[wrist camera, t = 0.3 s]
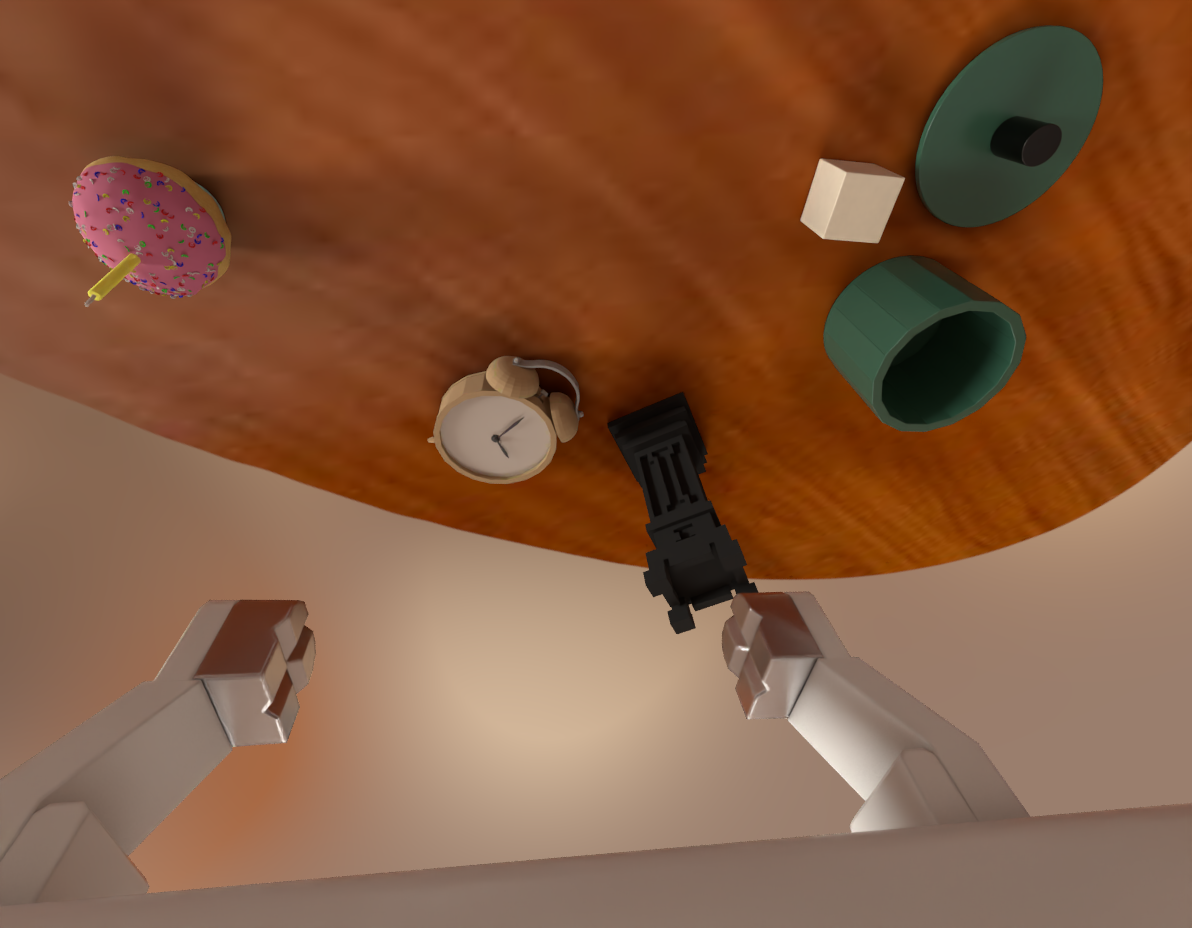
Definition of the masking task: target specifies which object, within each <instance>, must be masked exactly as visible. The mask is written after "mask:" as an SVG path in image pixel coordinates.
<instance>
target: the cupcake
mask: <svg viewBox="0 0 1192 928" xmlns="http://www.w3.org/2000/svg"><path fill="white" fill-rule="evenodd" d="M78 178H79V179H78ZM77 180H78V181H77V183H73V187H74V188H75V189H74V192H73V198H72V201H69V205H70V206H71V207H73V210H74V215H75V218H74V220H76V223H77V224H76V227H77V228H78V229H79V232H80V233H81V234H82V236H83V237H84V239H83V241H84V242H85V241H86V242H85V243H86V244H87V245H88V248H89V246H90V247H91V248H92V249H93V251H94V252H95V255H96V256H97V255H98V256H97V257H98V258H99V261H102V262H103V263H104V264H105V265H106V266H108V267H110V270H111V271H110V272H109V273H108V274H107V275H106V276H105V277H104V278H102V279H101V280H100V281H99V282H98V283H97V284H96V285H95V286H94V287H92V288H91V289H90V290H89V291H88V295H89V296H90V298H89V299H88V300H87V301H86V302H85V306H86V307H88V306H89V305H90V304H91V303H92V302H93V301H94V300H101V299H102V298H103V297H104V296H105V295H106V294H107V293H108V292H109V291H111V290H112V289H113V288H114V287H115V286H116V285H117V284H118V283H119V282H120V281H121V280H122V279H125V281H127V282H129V281H130V282H131V283H132V284H134V285H135V284H136V285H138V286H139V289H141V290H147V291H149V292H150V293H152V294H154V293H156V294H157V295H160V293H161V295H163V294H165V295H163V296H166V295H171V298H176V297H177V296H179V297H180V298H181V297H183V296H188V297H190V296H192V295H195V294H197V292H198V291H199V290H200V289H202V288H205V287H207V286H209V285H211V284H212V283H214V282H215V281H216V280H217V279H219V278H220V277H221V276H222V275H223V274H224V273H225V272H226V271H227V269H228V267H229V263H230V254H231V252H230V246H231V233H230V231H229V229H228V227H227V224H226V221H225V216H224V213H223V211H222V209H221V207H220V205H219V203H218V202H217V200H216V199H215V198H214V197H213V196H212V195H211V194H210V193H209V192H208V191H207V190H206V189H205V188H203V187H202V186H201V185H199V184H197V183H196V182H194V181H193V180H192V179H191V178H190V177H188V176H187V175H186V174H185V173H183V172H181V171H180V170H178V169H176V168H173V167H171V166H169V165H166V164H163V163H159V162H155V161H151V160H147V159H138V158H125V157H121V156H110V157H106V158H102V159H99V160H96V161H94V162H92V163H90V164H89V165H88V166H86V167H85V169H84V170H83V172H82V173H81V175H80V176H78V177H77ZM75 184H76V185H75ZM71 202H72V203H73V206H72V205H71V204H72V203H71ZM100 259H101V260H100ZM140 287H142V288H144V289H142V288H140ZM151 291H153V292H151ZM158 293H159V294H158ZM174 296H175V297H174Z"/></svg>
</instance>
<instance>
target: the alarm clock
mask: <svg viewBox="0 0 1192 928" xmlns="http://www.w3.org/2000/svg"><path fill="white" fill-rule="evenodd" d="M534 368H547V369H551V370H554V371H556V372H558V373H560V374H561V375H563V376H564V377H566V378H567V379H568V380H569V381H570V383H571V384H572V385H573V387H574V389H575V390H576V394H577V397H576V407H575V405H574V403H573V402H572V400H571V399H570V398H569V397H568V396H567V395H565V394H563V393H560V392H553V393H551V394H550V398H549V397H548V393H547V392H546V391H545V390H543V389H541V388H540V387H539V378H538V373H537V372H536V370H535V369H534ZM578 405H579V386H578V382H577V381H576V379H575V377H574V376H573V375H572V374H571V372H570V371H569V370H567V369H566V368H565V367H563V366H562V365H560V364H558V363H556V362H553V361H549V360H524V359H521V358H520V357H515V356H503V357H499V358H497V359H495V360H494V361H493V362H492V363H491V364H490V365H489V367H488V369H487V371H484V372H480V373H476V374H472V375H468V376H465V377H464V378H462V379H461V380H459V381H457V382H456V383H454V384H453V385H452V386H451V387H450V388H449V390H448V391H447V392H446V393H445V395H444V396H443V397H442V401H441V405H440V409H439V413H438V415H437V419H436V423H435V427H434V431H433V434H434V437H431V438H428V442H429V443H435V444H436V448H437V449H438V451H439V453H440V454H441V456H442V457H443V459H444V461H446V462H447V463H448V464H449V465H450V466H451V467H453V468H454V469H455V470H456V471H457V472H459V473H461V474H463V475H465V476H467V477H469V478H471V479H474V480H478V481H482V482H487V483H495V484H509V483H514V482H519V481H523V480H526V479H528V478H530V477H532V476H534V475H536V474H538V473H540V472H541V471H542V470H543V469H544V468H545V467H546V466H547V465H548V464H549V463H550V462H551V459H552V457H553V455H554V453H555V451H556V432H557V435H558V437H559V439H560V441H561V442H567V441H569V440H570V439H572V438H573V437H574V435H575V434H576V432H577V429H578V420H579V417H582V416H584V415H583V412H582V411H578Z"/></svg>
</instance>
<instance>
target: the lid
mask: <svg viewBox="0 0 1192 928" xmlns="http://www.w3.org/2000/svg"><path fill="white" fill-rule="evenodd" d="M1102 89H1103V69H1102V65H1101V60H1100V57H1099V55H1098V52H1097V50H1096V48H1095V47H1094V45H1093V44H1092V43H1091V41H1090V40H1089V39H1088V38H1087V37H1086V36H1084V35H1083V34H1082V33H1080V32H1078V31H1076V30H1074V29H1072V28H1068V27H1064V26H1050V25H1045V26H1037V27H1032V28H1028V29H1024V30H1021V31H1018V32H1016V33H1014V34H1011V35H1009V36H1007V37H1005V38H1003V39H1002V40H1000V41H998V42H996V43H995V44H993V45H992V46H990V47H989V48H987V49H986V50H985V51H983V52H982V53H981V54H979V55H978V56H977V57H976V58H975V59H974V60H972V61H971V62H970V63H969V64H968V65H967V66H966V67H965V68H964V69H963V70H962V71H961V72H960V73H959V74H958V75H957V76H956V78H955V79H954V80H953V81H952V83H951V84H950V85H949V86H948V87H947V89H946V90H945V92H944V93H943V95H942V96H941V98H940V99H939V100H938V102H937V104H936V106H935V107H934V109H933V111H932V113H931V115H930V117H929V119H928V121H927V123H926V125H925V128H924V131H923V133H922V136H921V139H920V143H919V147H918V151H917V157H916V164H915V178H916V186H917V190H918V193H919V196H920V198H921V201H922V203H923V204H924V206H925V207H926V209H927V210H928V211H929V212H930V213H931V214H932V215H933V216H934V217H936V218H938V219H939V220H941V221H943V222H945V223H947V224H950V225H953V226H959V227H978V226H984V225H988V224H992V223H995V222H997V221H1000V220H1003V219H1005V218H1007V217H1009V216H1011V215H1013V214H1015V213H1017V212H1018V211H1020V210H1022V209H1023V208H1025V207H1027V206H1028V205H1029V204H1031V203H1032V202H1033V201H1035V200H1036V199H1037V198H1039V197H1040V196H1041V195H1042V194H1043V193H1044V192H1046V191H1047V190H1048V189H1049V188H1050V187H1051V186H1052V185H1053V184H1054V183H1055V182H1056V181H1057V180H1058V179H1059V178H1060V176H1061V175H1062V174H1063V173H1064V172H1065V171H1066V169H1067V168H1068V167H1069V165H1070V164H1071V163H1072V161H1073V160H1074V159H1075V157H1076V156H1077V154H1078V153H1079V151H1080V150H1081V148H1082V146H1083V145H1084V143H1085V141H1086V139H1087V137H1088V135H1089V133H1090V131H1091V129H1092V126H1093V124H1094V122H1095V119H1096V116H1097V113H1098V110H1099V106H1100V102H1101V97H1102Z"/></svg>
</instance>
